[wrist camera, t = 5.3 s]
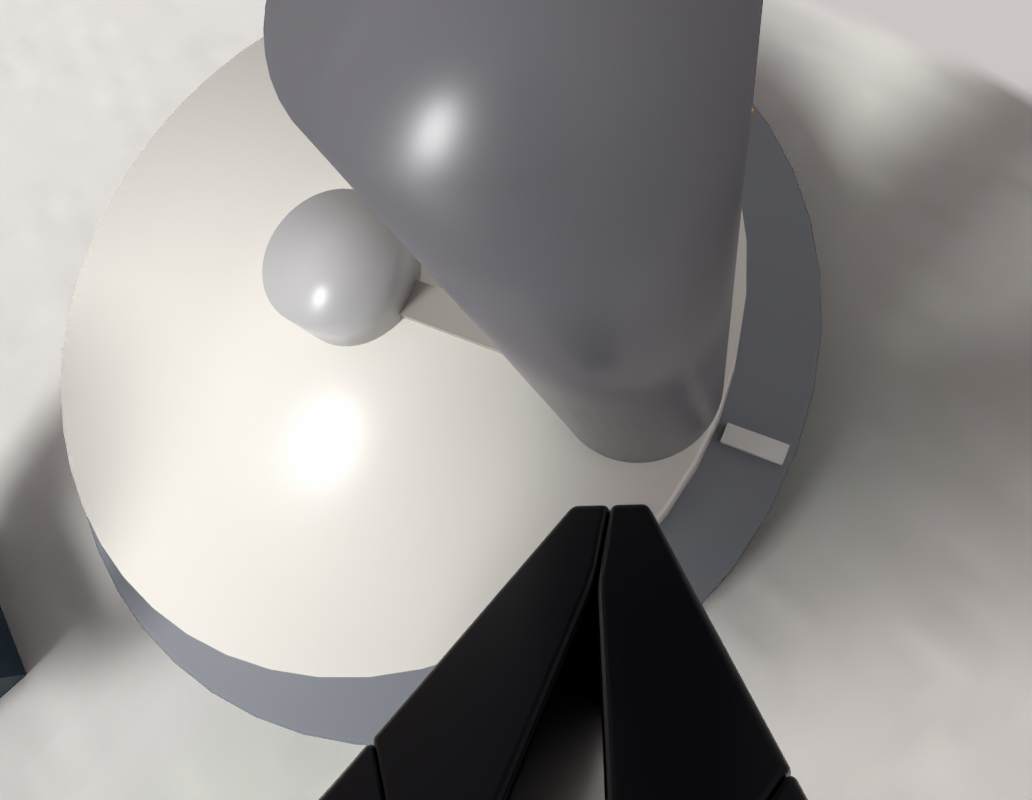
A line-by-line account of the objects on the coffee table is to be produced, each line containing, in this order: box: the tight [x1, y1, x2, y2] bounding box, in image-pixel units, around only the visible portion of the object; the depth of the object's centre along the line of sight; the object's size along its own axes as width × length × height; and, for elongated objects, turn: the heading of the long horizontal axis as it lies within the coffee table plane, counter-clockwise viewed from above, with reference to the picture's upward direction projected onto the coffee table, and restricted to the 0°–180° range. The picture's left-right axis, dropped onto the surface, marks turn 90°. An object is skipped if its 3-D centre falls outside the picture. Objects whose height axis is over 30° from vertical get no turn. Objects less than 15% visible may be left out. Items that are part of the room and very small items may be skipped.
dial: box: [61, 0, 763, 677], centre depth 11 cm, size 16×16×10 cm
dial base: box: [87, 103, 821, 745], centre depth 16 cm, size 19×19×2 cm
